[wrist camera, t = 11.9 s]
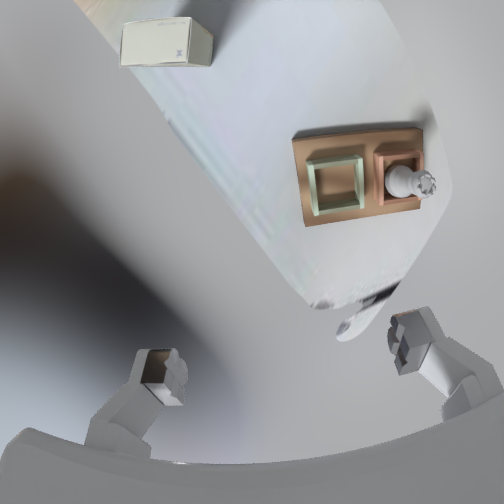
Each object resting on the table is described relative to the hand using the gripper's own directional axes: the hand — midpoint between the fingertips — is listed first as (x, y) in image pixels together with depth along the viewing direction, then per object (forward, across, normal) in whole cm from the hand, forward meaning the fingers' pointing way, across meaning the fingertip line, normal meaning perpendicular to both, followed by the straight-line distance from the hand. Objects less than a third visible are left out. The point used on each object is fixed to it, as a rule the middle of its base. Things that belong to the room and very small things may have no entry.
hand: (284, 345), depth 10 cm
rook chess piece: (+27, -17, +7) cm, 33 cm away
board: (+29, -13, +6) cm, 32 cm away
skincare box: (+29, +6, -14) cm, 33 cm away
